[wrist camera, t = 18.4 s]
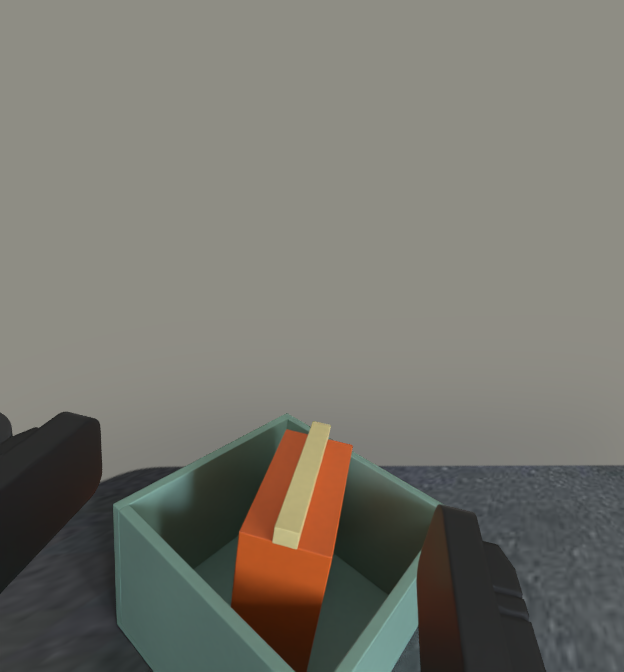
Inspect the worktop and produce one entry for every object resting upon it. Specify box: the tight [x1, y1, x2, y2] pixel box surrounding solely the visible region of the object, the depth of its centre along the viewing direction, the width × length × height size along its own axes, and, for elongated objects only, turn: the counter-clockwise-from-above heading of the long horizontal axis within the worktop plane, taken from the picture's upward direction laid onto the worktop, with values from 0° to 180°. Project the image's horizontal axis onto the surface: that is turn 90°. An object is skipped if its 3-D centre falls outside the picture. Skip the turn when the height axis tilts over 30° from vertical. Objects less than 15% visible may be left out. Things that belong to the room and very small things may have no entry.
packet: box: [231, 421, 353, 672], centre depth 26 cm, size 4×9×12 cm, turn 169°
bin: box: [113, 413, 443, 672], centre depth 26 cm, size 14×14×10 cm
